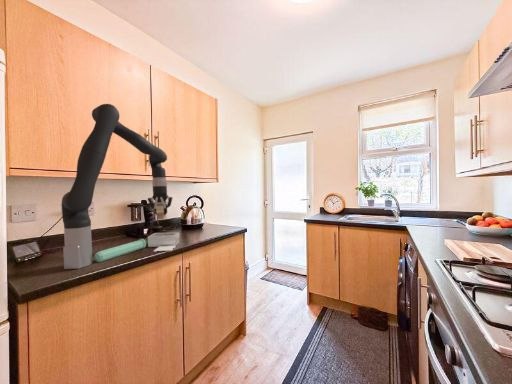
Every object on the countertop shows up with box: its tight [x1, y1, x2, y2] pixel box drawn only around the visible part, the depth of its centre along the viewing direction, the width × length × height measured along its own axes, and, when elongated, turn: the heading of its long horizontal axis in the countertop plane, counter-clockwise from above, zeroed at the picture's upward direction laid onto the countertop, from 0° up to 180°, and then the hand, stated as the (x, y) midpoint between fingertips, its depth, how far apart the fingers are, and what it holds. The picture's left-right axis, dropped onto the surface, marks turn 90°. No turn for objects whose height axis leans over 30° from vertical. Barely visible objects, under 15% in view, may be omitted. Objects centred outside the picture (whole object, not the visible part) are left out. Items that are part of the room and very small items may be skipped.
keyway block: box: [147, 231, 180, 248], centre depth 131 cm, size 10×15×6 cm, turn 94°
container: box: [94, 238, 147, 263], centre depth 112 cm, size 6×6×25 cm
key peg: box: [156, 202, 167, 220], centre depth 128 cm, size 4×4×10 cm
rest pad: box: [152, 245, 177, 253], centre depth 120 cm, size 9×9×1 cm
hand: (161, 214), depth 128 cm, fingers closed on key peg, 4 cm apart
